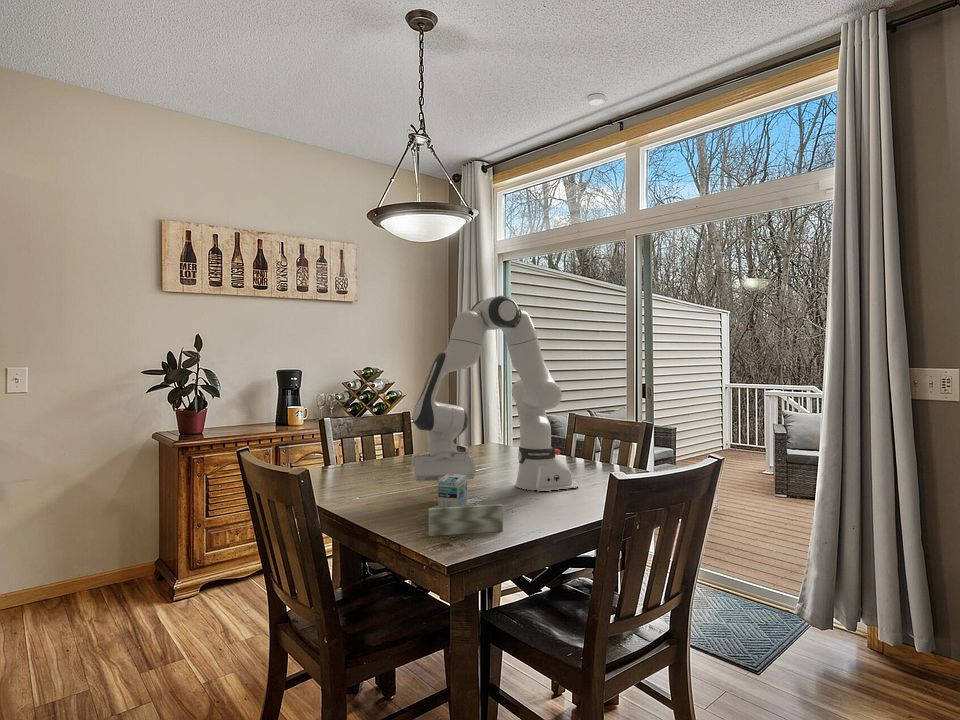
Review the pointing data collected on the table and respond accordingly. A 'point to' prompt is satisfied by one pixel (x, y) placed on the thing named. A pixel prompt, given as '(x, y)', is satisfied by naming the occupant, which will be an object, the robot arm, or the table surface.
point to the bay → (465, 519)
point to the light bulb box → (452, 490)
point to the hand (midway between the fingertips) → (447, 490)
